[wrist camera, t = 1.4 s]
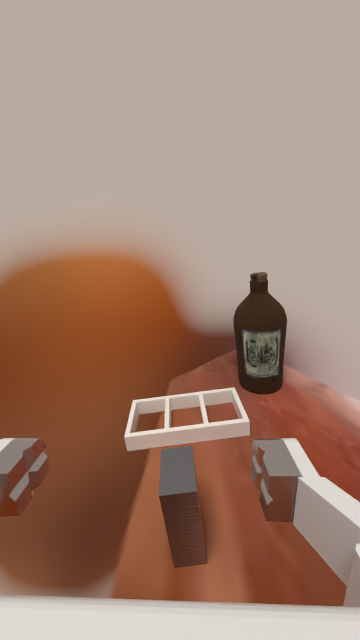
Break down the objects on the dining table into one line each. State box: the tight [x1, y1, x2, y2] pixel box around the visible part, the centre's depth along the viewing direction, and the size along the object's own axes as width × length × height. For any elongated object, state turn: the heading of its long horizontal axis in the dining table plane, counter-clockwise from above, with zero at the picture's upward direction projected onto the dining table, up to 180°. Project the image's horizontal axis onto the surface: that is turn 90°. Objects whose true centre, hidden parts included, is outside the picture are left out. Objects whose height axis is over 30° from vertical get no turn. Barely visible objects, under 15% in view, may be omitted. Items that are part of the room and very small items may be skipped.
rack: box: [124, 388, 250, 451], centre depth 44 cm, size 21×10×3 cm, turn 92°
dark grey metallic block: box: [159, 446, 207, 568], centre depth 25 cm, size 4×5×11 cm
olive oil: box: [234, 272, 287, 394], centre depth 49 cm, size 11×11×25 cm
